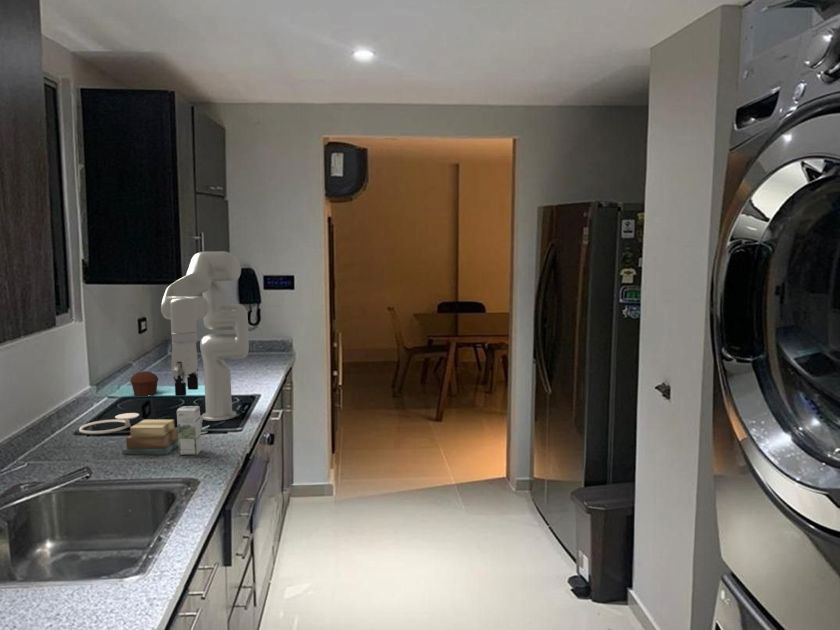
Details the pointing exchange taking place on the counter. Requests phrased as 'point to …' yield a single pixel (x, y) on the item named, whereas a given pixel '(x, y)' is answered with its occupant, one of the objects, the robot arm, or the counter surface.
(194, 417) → the syrup box
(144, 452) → the tower base
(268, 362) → the counter surface
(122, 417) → the hand towel holder
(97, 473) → the counter surface
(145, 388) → the muffin
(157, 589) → the counter surface
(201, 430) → the pacifier
